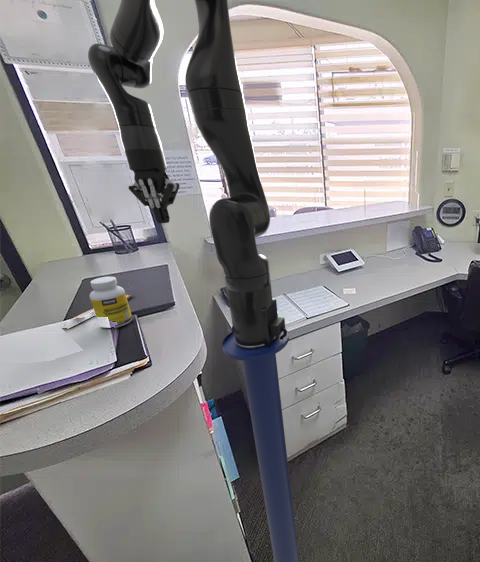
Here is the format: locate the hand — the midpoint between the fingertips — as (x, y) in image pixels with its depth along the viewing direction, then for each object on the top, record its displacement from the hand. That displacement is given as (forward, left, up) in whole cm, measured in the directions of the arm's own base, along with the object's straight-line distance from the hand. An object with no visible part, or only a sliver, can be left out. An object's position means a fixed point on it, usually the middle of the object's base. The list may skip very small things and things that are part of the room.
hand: (163, 222), depth 78 cm
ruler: (+19, +7, -23) cm, 31 cm away
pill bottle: (+9, +12, -23) cm, 28 cm away
